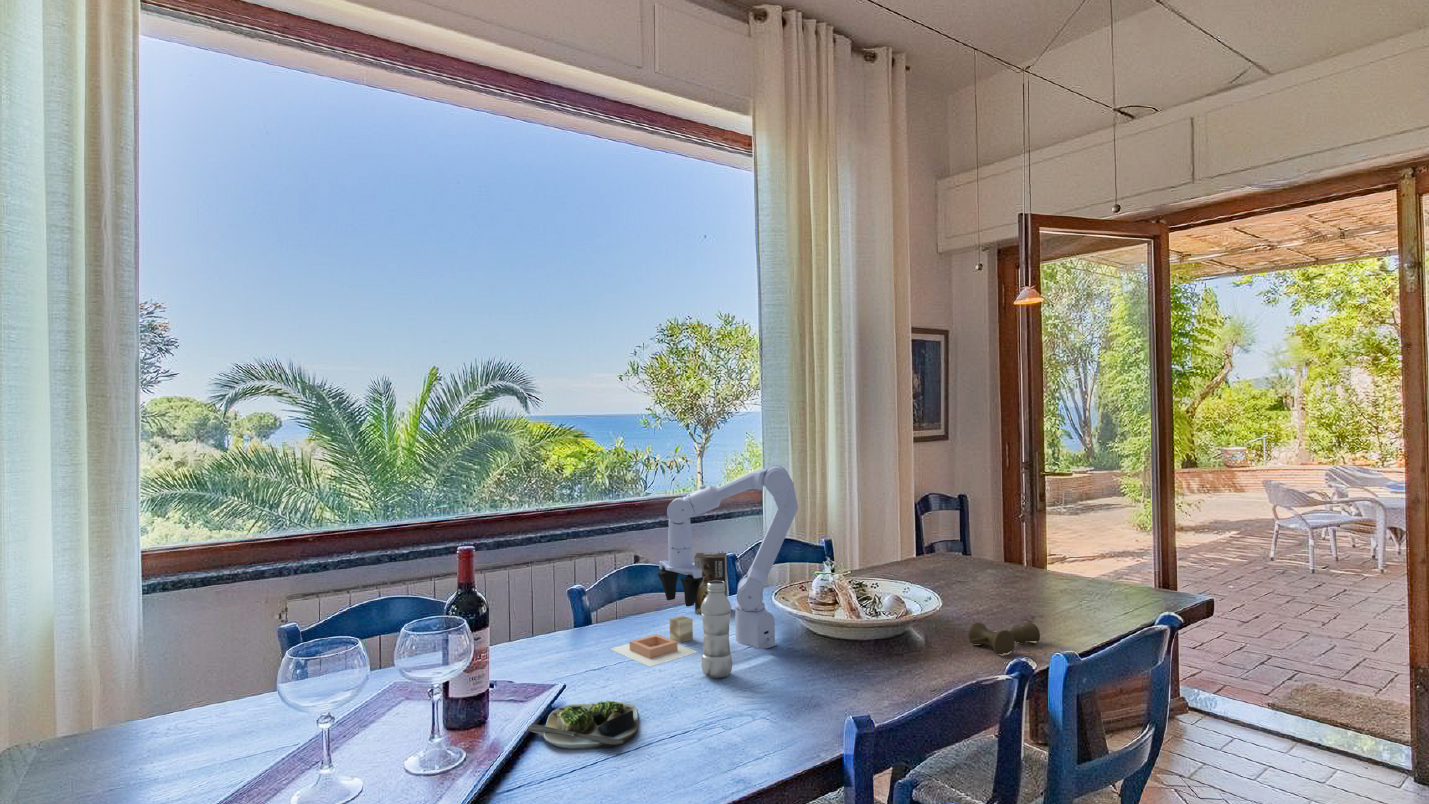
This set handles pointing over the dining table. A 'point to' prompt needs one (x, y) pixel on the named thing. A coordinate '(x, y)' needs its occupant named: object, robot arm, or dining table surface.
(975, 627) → the olive double spool shape
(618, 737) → the salad plate
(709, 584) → the plastic bottle
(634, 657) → the cream flat mat
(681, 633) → the birch peg
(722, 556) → the coffee box
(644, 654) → the terracotta holder
